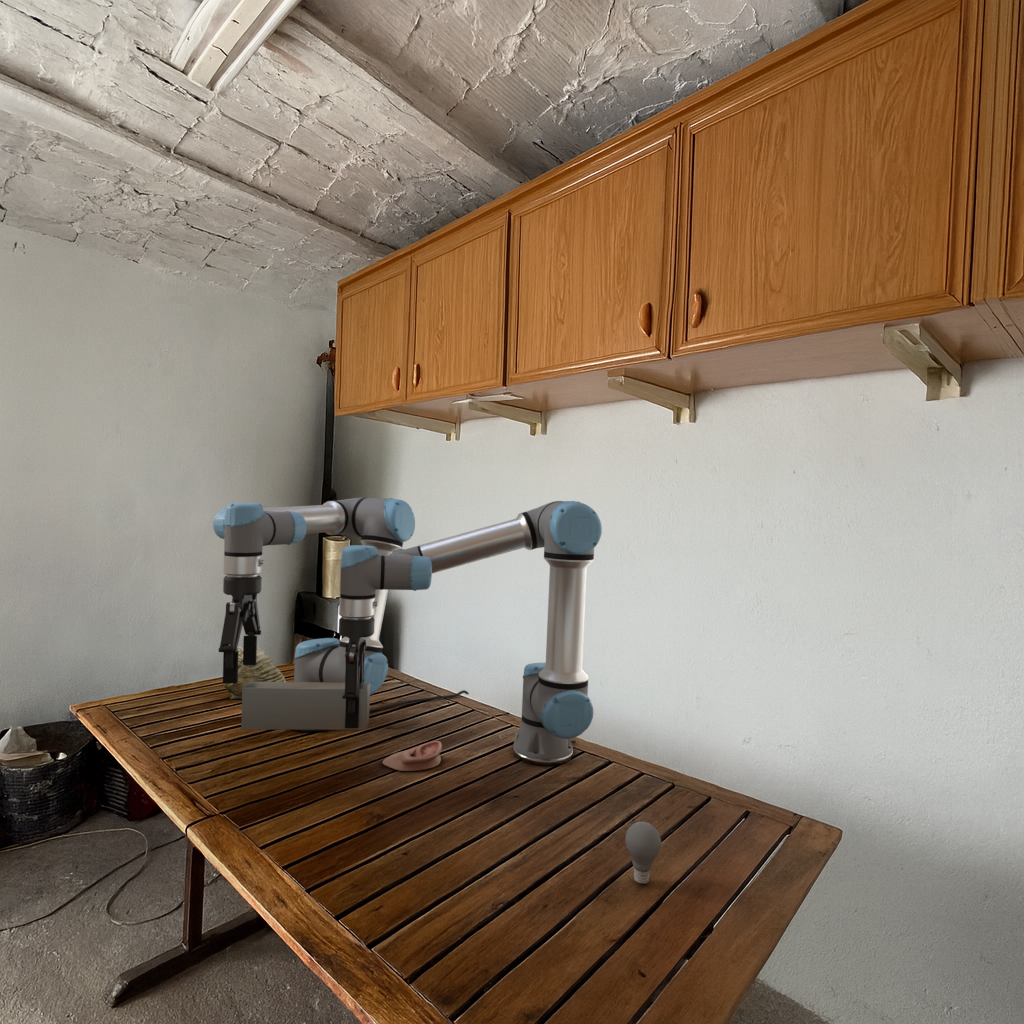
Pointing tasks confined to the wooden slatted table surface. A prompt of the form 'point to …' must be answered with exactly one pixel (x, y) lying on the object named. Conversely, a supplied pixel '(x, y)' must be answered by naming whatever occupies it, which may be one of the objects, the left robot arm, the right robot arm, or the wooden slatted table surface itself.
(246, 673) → the fossil
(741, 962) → the wooden slatted table surface
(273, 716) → the bar
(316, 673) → the left robot arm
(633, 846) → the light bulb
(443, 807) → the wooden slatted table surface
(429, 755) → the anatomical model
